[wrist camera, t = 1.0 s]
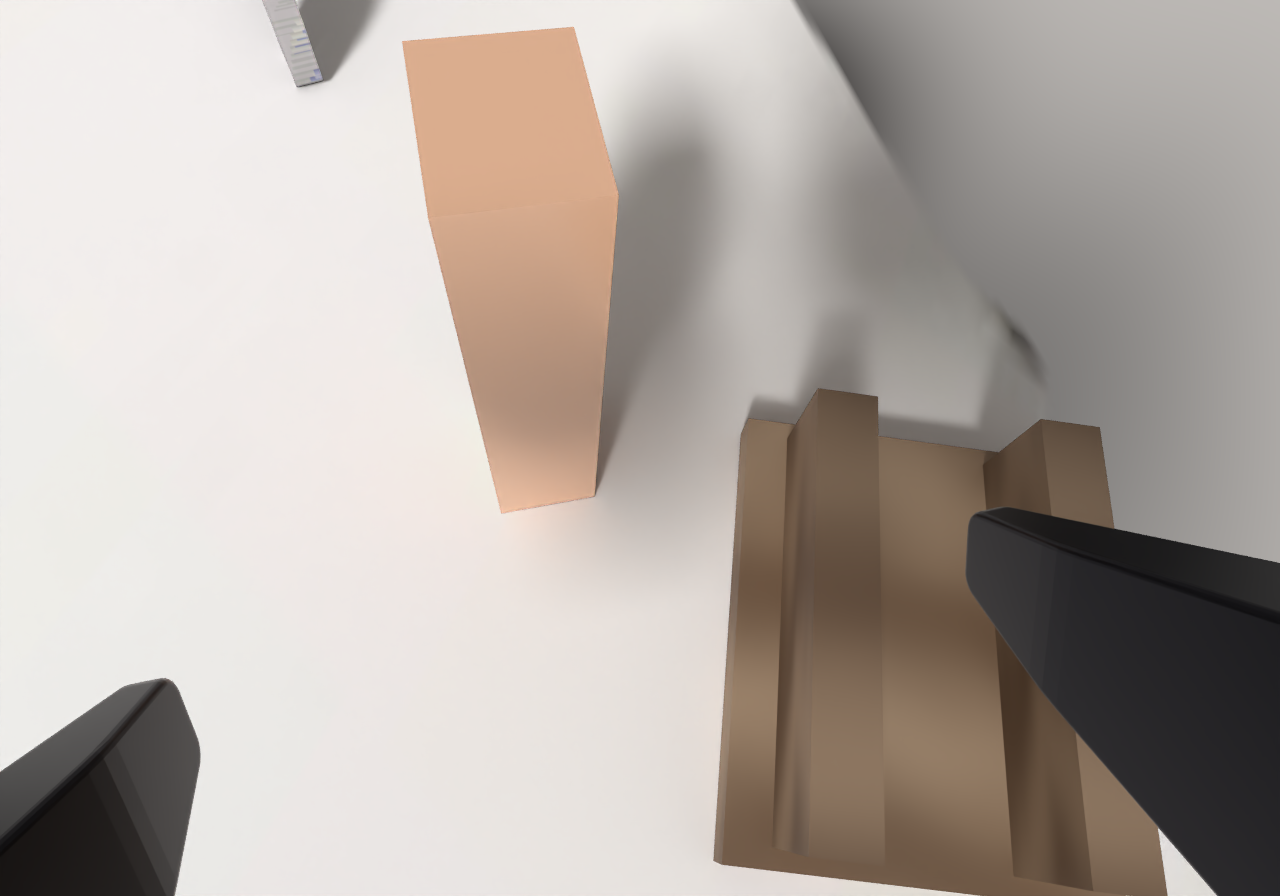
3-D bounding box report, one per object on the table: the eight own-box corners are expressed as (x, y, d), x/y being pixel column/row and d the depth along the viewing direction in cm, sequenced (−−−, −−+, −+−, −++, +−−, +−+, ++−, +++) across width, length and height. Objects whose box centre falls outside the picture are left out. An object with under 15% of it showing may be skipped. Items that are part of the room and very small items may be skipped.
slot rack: (1097, 906, 20) (1228, 934, 16) (713, 860, 20) (749, 878, 16) (1049, 476, 25) (1140, 416, 21) (740, 434, 25) (773, 365, 21)
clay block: (594, 496, 24) (618, 195, 12) (501, 513, 23) (428, 218, 11) (572, 392, 25) (573, 26, 13) (483, 406, 24) (402, 41, 13)
